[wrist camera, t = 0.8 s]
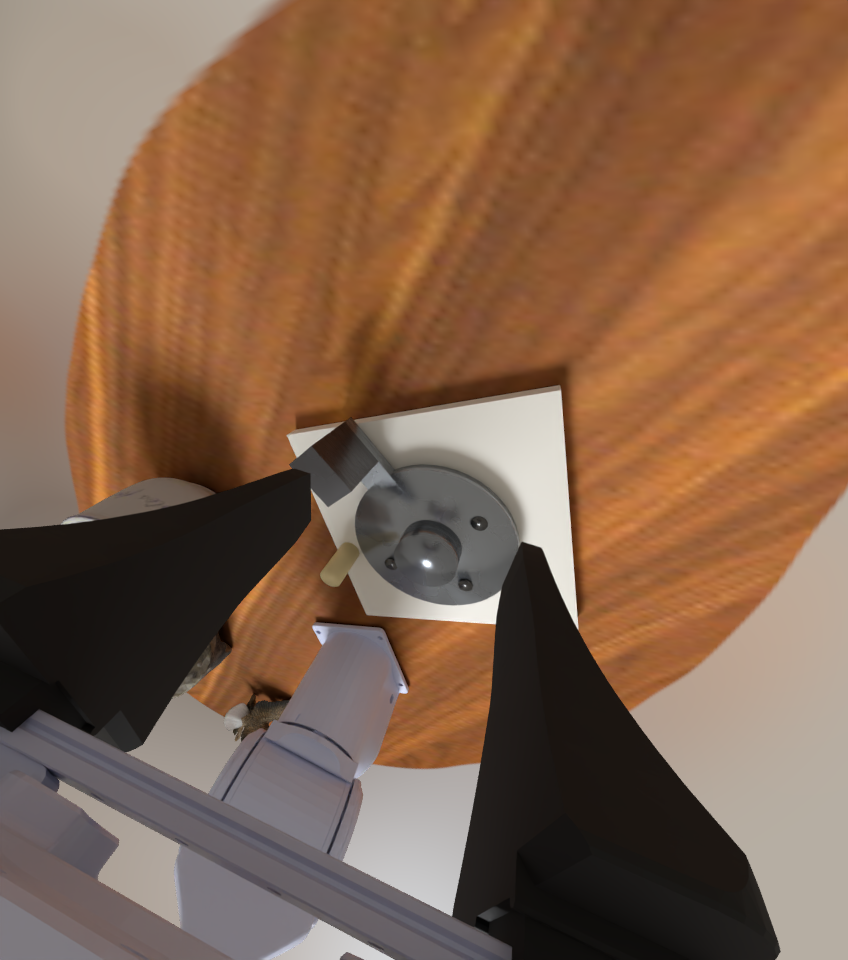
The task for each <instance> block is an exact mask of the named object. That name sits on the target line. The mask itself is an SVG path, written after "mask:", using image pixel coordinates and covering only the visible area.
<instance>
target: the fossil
mask: <svg viewBox="0 0 848 960" xmlns="http://www.w3.org/2000/svg"><path fill="white" fill-rule="evenodd" d="M231 651H232V649H231V647H230V646H228V645H227V644H225V642H221V641H220V637H219V634H218V632H217V634H216V635H215V637H214V638H213V639H212V641H211V642H210V644H209V645H208V646H207V648H206V649H205V650H204V652H203V653H202V655H201V656H200V657H199V659H198V660H197V662H196V663H195V665H194V666H193V668H192V669H191V670H190V672H189V673H188V675H187V676H186V678H185V679H184V681H183V682H182V684H181V685H180V687H179V688H178V690H177V691H176V693H175V694H174V696H173V697H172V699H173V698H176V697H178V696H180V695H182V694H184V693H186V692H187V691H189V690H190V689H191V688H193V687H194V686H195V685H196V684H197V683H198V682H199V681H200V680H201V679H202V678H203V677H204V676H206V675H207V674H208V673H209V672H210V671H211V670H213V669H214V668H215V667H216V666H218V665H219V664H220V663H221V662H222V661H223V660H224V659H225V658H226V657H227V656H228V655H229V654H230V653H231Z"/></svg>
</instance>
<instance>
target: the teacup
mask: <svg viewBox="0 0 848 960" xmlns="http://www.w3.org/2000/svg"><path fill="white" fill-rule="evenodd" d="M214 494H216V493H215V492H213V491H211V490H210V489H208V488H206V487H203V486H201V485H198V484H195V483H190V482H187V481H184V480H180V479H175V478H153V479H148V480H144V481H141V482H139V483H137V484H134V485H132V486H130V487H128V488H125V489H123V490H121V491H120V492H118V493H116V494H114V495H112V496H110V497H108V498H106V499H104V500H103V501H101V502H99V503H97V504H96V505H94V506H92V507H90V508H89V509H87V510H85V511H83V512H82V513H80V514H77V515H74V516H70V517H68V518H67V519H65V520H63V522H62V523H61V524H60V525H62V524H71V523H79V522H87V521H94V520H101V519H107V518H113V517H119V516H125V515H130V514H136V513H142V512H147V511H152V510H157V509H161V508H165V507H170V506H174V505H178V504H182V503H186V502H190V501H193V500H197V499H200V498H204V497H207V496H210V495H214Z"/></svg>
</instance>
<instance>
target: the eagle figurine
mask: <svg viewBox="0 0 848 960" xmlns="http://www.w3.org/2000/svg"><path fill="white" fill-rule="evenodd" d="M255 699H256V696H255V694H253V695H252V696H251V699H250V701H249V702H248V704H247V705H246V704H244V703H241V704H238V705H236V706H235V707H232V708H231V709H230V710H229V712H228V713H227V714H226V715H225V718H224V724H225V727H226V728H227V730H233V733H234V735H235V734H236V733H237V732H238V733H237V735H236V738H235V741H237V740H238V739H239V738H240V736H241V737H242V738H241V742H242V741H243V740H244V738H245V737H246V736H247V735H248V734H250V733H252V732H255V731H256V730H258V729H259V728H262V729H264V730H266V731H267V730H268V728H269V722H271V721H273V720H277V721H278V719H279V718H280V716H281V714H282V713H283V711H284V709H285V708H286V706H287V704H288V703H289V701H290V700H287V701H286V700H283V701H276V702H268V701H265V700H264V701H259V702H258V703H256V701H255ZM243 727H245V728H244V730H243ZM242 730H243V731H242ZM241 733H242V734H241Z"/></svg>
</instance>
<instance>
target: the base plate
mask: <svg viewBox="0 0 848 960" xmlns="http://www.w3.org/2000/svg"><path fill="white" fill-rule="evenodd" d="M354 421H355V422H356V423H357V425H358V426H359V427H360V428H361V430H362V431H363V432H364V433H365V434H366V436H367V437H368V438H369V439H370V440H371V442H372V443H373V444H374V445H375V446H376V448H377V449H378V450H379V451H380V452H381V454H382V455H383V456H384V457H385V459H386V460H387V461H388V462H389V463H390V465H391V466H392V467H393V468H394V469H398V468H401V467H405V466H410V465H420V464H425V465H437V466H443V467H448V468H451V469H455V470H458V471H460V472H463V473H465V474H468V475H470V476H471V477H473V478H475V479H477V480H479V481H480V482H481V483H483V484H484V485H486V486H487V487H489V488H490V489H491V490H492V491H493V492H494V493H495V494H496V495H497V496H498V497H499V498H500V499H501V500H502V501H503V503H504V504H505V505H506V507H507V508H508V510H509V511H510V513H511V514H512V517H513V519H514V521H515V523H516V526H517V530H518V534H519V546H520V544H521V542H525V543H528V544H532V545H535V546H538V547H541V548H542V549H543V551H544V554H545V556H546V559H547V562H548V564H549V567H550V570H551V572H552V575H553V577H554V579H555V582H556V584H557V587H558V589H559V591H560V594H561V596H562V598H563V600H564V602H565V604H566V607H567V609H568V611H569V613H570V615H571V617H572V619H573V621H574V623H575V625H576V627H577V629H578V618H577V604H576V590H575V577H574V563H573V549H572V535H571V521H570V507H569V494H568V480H567V466H566V452H565V438H564V424H563V410H562V397H561V387H560V385H557V386H551V387H545V388H539V389H533V390H527V391H521V392H515V393H510V394H504V395H498V396H492V397H486V398H480V399H474V400H468V401H462V402H456V403H450V404H444V405H439V406H433V407H427V408H421V409H415V410H409V411H403V412H397V413H391V414H385V415H379V416H374V417H368V418H362V419H356V420H354ZM344 422H345V421H344ZM344 422H338V423H332V424H326V425H320V426H314V427H308V428H303V429H297V430H294V431H293V432H291V433H289V434H288V435H287V437H288V439H289V441H290V444H291V446H292V448H293V450H294V453H295V455H296V457H297V458H298V457H299V456H300V455H301V454H302V453H303V452H305V451H306V450H307V449H308V448H309V447H310V446H312V445H313V444H314V443H316V442H317V441H319V440H320V439H321V438H323V437H324V436H326V435H327V434H328V433H330V432H331V431H332V430H334V429H335V428H337V427H338V426H339V425H341V424H342V423H344ZM367 490H368V489H367V488H366V487H365V486H364V484H363V483H362V482H360V483H359V484H358V485H357V486H356V487H355V488H354V489H353V491H352V492H350V493H349V494H347V495H346V496H344V497H343V498H341V499H340V500H338V501H337V502H335V503H334V504H332V505H331V506H329V507H327V506H326V504H325V503H324V502H323V501H322V500H321V499H320V498H319V497H318V496H317V495H316V494H315V492H314V491H313V490H312V489H311V491H312V493H313V495H314V498H315V500H316V502H317V504H318V507H319V509H320V511H321V513H322V516H323V518H324V520H325V523H326V525H327V527H328V529H329V532H330V534H331V536H332V538H333V541H334V543H335V545H336V547H337V551H336V553H335V554H334V555H333V557H332V558H331V559H330V561H329V562H328V563H327V565H326V566H325V567H324V569H323V570H322V571H321V573H320V577H321V579H322V580H323V582H324V583H326V584H327V585H329V586H332V587H337V586H339V585H340V584H341V582H342V581H343V579H344V578H345V576H346V575H347V573H348V574H349V577H350V579H351V581H352V583H353V586H354V588H355V590H356V592H357V595H358V597H359V599H360V601H361V604H362V606H363V608H364V610H365V613H366V615H372V616H386V617H400V618H415V619H429V620H443V621H458V622H472V623H487V624H496V616H497V610H498V604H499V599H500V594H501V591H499V592H498V593H497V594H495V595H494V596H492V597H490V598H488V599H486V600H483V601H480V602H477V603H473V604H467V605H441V604H435V603H431V602H427V601H423V600H420V599H417V598H415V597H412V596H410V595H408V594H406V593H404V592H402V591H400V590H399V589H397V588H396V587H394V586H393V585H391V584H390V583H388V582H387V581H386V580H385V579H383V578H382V577H381V576H380V575H379V574H378V573H377V572H376V571H375V570H374V568H373V567H372V566H371V565H370V564H369V562H368V561H367V559H366V558H365V556H364V554H363V552H362V551H361V549H360V546H359V543H358V541H357V537H356V532H355V515H356V511H357V507H358V505H359V503H360V500H361V499H362V497H363V496H364V494H365V493H366V492H367Z"/></svg>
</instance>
